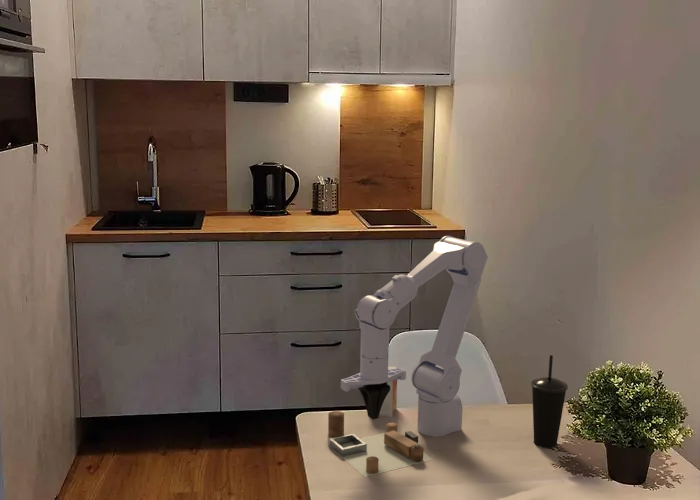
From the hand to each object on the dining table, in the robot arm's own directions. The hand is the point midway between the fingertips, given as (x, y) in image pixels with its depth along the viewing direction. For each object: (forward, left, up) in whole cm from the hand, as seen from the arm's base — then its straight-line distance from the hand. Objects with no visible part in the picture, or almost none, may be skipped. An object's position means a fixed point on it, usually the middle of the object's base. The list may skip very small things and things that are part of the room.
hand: (373, 417), depth 165 cm
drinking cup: (-36, +12, -9) cm, 39 cm away
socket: (+4, -3, -7) cm, 9 cm away
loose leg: (+3, -10, -8) cm, 14 cm away
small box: (-13, -18, -9) cm, 24 cm away
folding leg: (-5, +4, -7) cm, 10 cm away
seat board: (-1, +2, -8) cm, 9 cm away
